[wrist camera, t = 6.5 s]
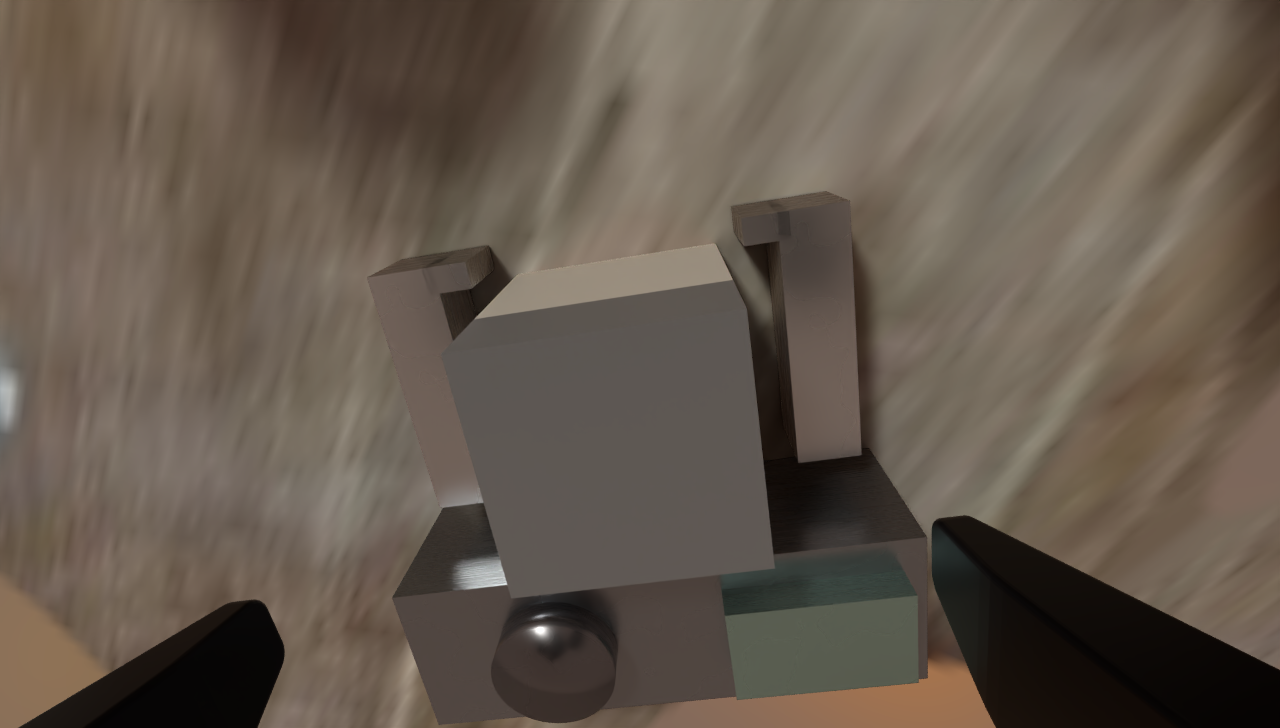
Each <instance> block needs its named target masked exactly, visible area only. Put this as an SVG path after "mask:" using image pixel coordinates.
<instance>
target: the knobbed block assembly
mask: <svg viewBox="0 0 1280 728" xmlns="http://www.w3.org/2000/svg"><path fill="white" fill-rule="evenodd" d="M731 211H732V220H733V229H734V233H735V234H736V236H737V237H738V238H739V240H740V241H741V243H742V244H743V246H749V245H756V244H762V243H766V245H767V256H768V267H769V277H770V288H771V299H772V310H773V321H774V331H775V342H776V353H777V364H778V375H779V386H780V396H781V407H782V418H783V427H784V429H785V432H786V434H787V437H788V439H789V441H790V444H791V446H792V449H793V451H794V454H795V456H796V457H794V458H786V459H778V460H770V461H763V463H764V472H765V482H766V491H767V500H768V509H769V519H770V528H771V537H772V546H773V556H774V565H775V569H766V570H757V571H749V572H740V573H731V574H722V575H713V576H705V577H696V578H687V579H678V580H669V581H661V582H652V583H643V584H634V585H625V586H617V587H608V588H599V589H590V590H581V591H573V592H564V593H555V594H546V595H537V596H529V597H520V598H511V596H510V592H509V589H508V585H507V582H506V579H505V575H504V572H503V568H502V565H501V561H500V558H499V554H498V551H497V547H496V544H495V540H494V537H493V534H492V530H491V527H490V523H489V520H488V516H487V513H486V509H485V506H484V502H483V499H482V495H481V492H480V489H479V485H478V482H477V478H476V475H475V471H474V468H473V464H472V461H471V457H470V454H469V450H468V447H467V444H466V440H465V437H464V433H463V430H462V426H461V423H460V419H459V416H458V412H457V409H456V405H455V402H454V399H453V395H452V392H451V388H450V385H449V381H448V378H447V374H446V371H445V367H444V364H443V360H442V357H441V353H442V352H443V351H444V350H445V349H446V348H447V347H448V346H449V345H450V344H451V343H452V342H453V341H454V340H455V339H456V338H457V337H458V336H459V334H460V333H461V332H462V331H463V330H464V329H465V328H466V327H467V326H468V325H469V324H470V323H471V322H472V321H473V320H474V319H475V318H476V317H477V316H476V312H475V308H474V304H473V301H472V297H471V293H470V289H472V288H473V287H474V286H476V285H477V284H478V283H479V282H480V281H481V280H483V279H484V278H485V277H486V276H487V275H488V274H490V273H491V272H492V271H493V270H494V266H493V262H492V258H491V254H490V249H489V246H483V247H477V248H471V249H464V250H458V251H452V252H446V253H439V254H433V255H427V256H421V257H415V258H408V259H402V260H400V261H398V262H396V263H394V264H392V265H390V266H388V267H386V268H384V269H382V270H380V271H379V272H377V273H375V274H373V275H371V276H369V277H367V279H368V283H369V286H370V289H371V292H372V295H373V298H374V302H375V305H376V308H377V311H378V314H379V317H380V320H381V324H382V327H383V330H384V333H385V336H386V339H387V342H388V346H389V349H390V352H391V355H392V358H393V361H394V365H395V368H396V371H397V374H398V377H399V380H400V383H401V387H402V390H403V393H404V396H405V399H406V402H407V405H408V409H409V412H410V415H411V418H412V421H413V424H414V428H415V431H416V434H417V437H418V440H419V443H420V446H421V450H422V453H423V456H424V459H425V462H426V465H427V468H428V472H429V475H430V478H431V481H432V484H433V487H434V491H435V494H436V497H437V500H438V503H439V506H440V508H443V509H442V511H441V513H440V515H439V516H438V518H437V520H436V522H435V523H434V525H433V527H432V529H431V530H430V532H429V534H428V536H427V537H426V539H425V541H424V543H423V544H422V546H421V548H420V550H419V551H418V553H417V555H416V557H415V559H414V560H413V562H412V564H411V566H410V567H409V569H408V571H407V573H406V574H405V576H404V578H403V580H402V581H401V583H400V585H399V587H398V588H397V590H396V592H395V594H394V595H393V597H392V599H393V602H394V604H395V607H396V610H397V613H398V615H399V618H400V621H401V623H402V626H403V629H404V632H405V634H406V637H407V640H408V642H409V645H410V648H411V650H412V653H413V656H414V659H415V661H416V664H417V667H418V669H419V672H420V675H421V678H422V680H423V683H424V686H425V688H426V691H427V694H428V696H429V699H430V702H431V705H432V707H433V710H434V713H435V715H436V718H437V721H438V724H439V725H442V724H453V723H463V722H474V721H484V720H495V719H505V718H516V717H529V718H531V719H534V720H538V721H542V722H549V723H567V722H574V721H578V720H581V719H584V718H587V717H589V716H591V715H593V714H594V713H596V712H597V711H599V710H600V709H610V708H621V707H631V706H642V705H652V704H663V703H673V702H684V701H694V700H704V699H715V698H725V697H735V696H737V700H741V699H752V698H763V697H774V696H784V695H795V694H805V693H816V692H825V691H837V690H847V689H858V688H868V687H879V686H890V685H900V684H910V683H918V682H919V679H924V678H928V675H927V674H928V654H927V537H926V535H925V533H924V532H923V530H922V529H921V527H920V526H919V524H918V523H917V521H916V520H915V518H914V517H913V515H912V513H911V512H910V510H909V509H908V507H907V506H906V504H905V503H904V501H903V500H902V498H901V496H900V495H899V493H898V492H897V490H896V489H895V487H894V486H893V484H892V483H891V481H890V479H889V478H888V476H887V475H886V473H885V472H884V470H883V469H882V467H881V466H880V464H879V463H878V461H877V459H876V458H875V456H874V455H873V453H872V452H871V450H870V449H869V448H865V449H861V432H860V410H859V388H858V366H857V344H856V322H855V300H854V278H853V255H852V233H851V211H850V200H847V199H844V198H842V197H839V196H837V195H834V194H832V193H829V192H827V191H825V192H819V193H813V194H806V195H800V196H794V197H788V198H782V199H775V200H769V201H763V202H757V203H750V204H744V205H738V206H732V207H731Z"/></svg>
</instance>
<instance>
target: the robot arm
mask: <svg viewBox="0 0 1280 728" xmlns="http://www.w3.org/2000/svg"><path fill="white" fill-rule="evenodd" d="M932 577H933V582H934V586H935V590H936V592H937V595H938V597H939V600H940V602H941V604H942V607H943V609H944V611H945V614H946V616H947V619H948V621H949V623H950V626H951V628H952V630H953V633H954V635H955V637H956V640H957V642H958V645H959V647H960V649H961V652H962V654H963V656H964V659H965V661H966V663H967V666H968V668H969V671H970V673H971V675H972V678H973V680H974V682H975V684H976V687H977V689H978V691H979V694H980V696H981V698H982V700H983V703H984V705H985V707H986V709H987V711H988V713H989V715H990V717H991V719H992V721H993V723H994V725H995V726H996V728H1280V670H1279V669H1277V668H1275V667H1273V666H1271V665H1269V664H1267V663H1265V662H1263V661H1261V660H1259V659H1257V658H1255V657H1253V656H1251V655H1249V654H1247V653H1245V652H1243V651H1241V650H1239V649H1237V648H1235V647H1233V646H1231V645H1229V644H1227V643H1225V642H1223V641H1221V640H1219V639H1216V638H1214V637H1212V636H1210V635H1208V634H1206V633H1204V632H1202V631H1200V630H1198V629H1196V628H1194V627H1192V626H1190V625H1188V624H1186V623H1184V622H1182V621H1180V620H1178V619H1176V618H1174V617H1172V616H1170V615H1168V614H1166V613H1164V612H1162V611H1160V610H1158V609H1156V608H1154V607H1152V606H1150V605H1148V604H1146V603H1144V602H1142V601H1140V600H1138V599H1136V598H1134V597H1132V596H1130V595H1128V594H1126V593H1124V592H1122V591H1120V590H1118V589H1116V588H1114V587H1112V586H1110V585H1108V584H1106V583H1104V582H1102V581H1100V580H1098V579H1096V578H1094V577H1092V576H1090V575H1088V574H1086V573H1084V572H1082V571H1080V570H1078V569H1076V568H1073V567H1071V566H1069V565H1067V564H1065V563H1063V562H1061V561H1059V560H1057V559H1055V558H1053V557H1051V556H1049V555H1047V554H1045V553H1043V552H1041V551H1039V550H1037V549H1035V548H1033V547H1031V546H1029V545H1027V544H1025V543H1023V542H1021V541H1019V540H1017V539H1015V538H1013V537H1011V536H1009V535H1007V534H1005V533H1003V532H1001V531H999V530H997V529H995V528H993V527H991V526H989V525H987V524H985V523H983V522H981V521H979V520H977V519H975V518H973V517H970V516H965V515H963V516H955V517H946V518H939V519H937V520H936V521H935V522H934V523H933V526H932ZM284 653H285V650H284V644H283V642H282V639H281V637H280V635H279V633H278V631H277V628H276V626H275V624H274V622H273V620H272V617H271V615H270V613H269V611H268V609H267V607H266V605H265V604H264V603H262V602H261V601H259V600H246V601H237V602H231V603H228V604H225V605H223V606H222V607H220V608H218V609H217V610H215V611H213V612H212V613H210V614H208V615H207V616H205V617H203V618H201V619H200V620H198V621H196V622H195V623H193V624H191V625H190V626H188V627H186V628H185V629H183V630H181V631H180V632H178V633H176V634H175V635H173V636H171V637H170V638H168V639H166V640H165V641H163V642H161V643H160V644H158V645H156V646H155V647H153V648H151V649H150V650H148V651H146V652H144V653H143V654H141V655H139V656H138V657H136V658H134V659H133V660H131V661H129V662H128V663H126V664H124V665H123V666H121V667H119V668H118V669H116V670H114V671H113V672H111V673H109V674H108V675H106V676H104V677H103V678H101V679H99V680H98V681H96V682H94V683H93V684H91V685H89V686H88V687H86V688H84V689H82V690H81V691H79V692H77V693H76V694H74V695H72V696H71V697H69V698H67V699H66V700H64V701H63V702H61V703H59V704H57V705H56V706H54V707H52V708H51V709H49V710H48V711H46V712H44V713H42V714H41V715H39V716H37V717H36V718H34V719H32V720H31V721H29V722H27V723H26V724H24V725H22V726H20V727H19V728H258V725H259V723H260V720H261V718H262V715H263V713H264V710H265V708H266V705H267V703H268V700H269V698H270V695H271V693H272V690H273V688H274V685H275V683H276V680H277V678H278V675H279V673H280V670H281V668H282V665H283V661H284Z"/></svg>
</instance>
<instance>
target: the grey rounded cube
mask: <svg viewBox="0 0 1280 728" xmlns="http://www.w3.org/2000/svg"><path fill="white" fill-rule="evenodd" d="M441 357H442V360H443V364H444V367H445V371H446V374H447V378H448V381H449V385H450V388H451V392H452V395H453V399H454V402H455V405H456V409H457V412H458V416H459V419H460V423H461V426H462V430H463V433H464V437H465V440H466V444H467V447H468V450H469V454H470V457H471V461H472V464H473V468H474V471H475V475H476V478H477V482H478V485H479V489H480V492H481V495H482V499H483V502H484V506H485V509H486V513H487V516H488V520H489V523H490V527H491V530H492V534H493V537H494V540H495V544H496V547H497V551H498V554H499V558H500V561H501V565H502V568H503V572H504V575H505V579H506V582H507V585H508V589H509V592H510V596H511V598H520V597H529V596H537V595H546V594H555V593H564V592H573V591H581V590H590V589H599V588H608V587H617V586H625V585H634V584H643V583H652V582H661V581H669V580H678V579H687V578H696V577H705V576H713V575H722V574H731V573H740V572H749V571H757V570H766V569H775V565H774V556H773V546H772V537H771V528H770V519H769V509H768V500H767V491H766V482H765V472H764V463H763V454H762V444H761V435H760V426H759V417H758V407H757V398H756V389H755V379H754V370H753V361H752V352H751V342H750V333H749V324H748V315H747V308H746V306H745V304H744V302H743V300H742V298H741V296H740V293H739V291H738V289H737V287H736V285H735V283H734V281H733V279H732V277H731V275H730V273H729V271H728V269H727V267H726V264H725V262H724V260H723V258H722V256H721V254H720V252H719V250H718V248H717V246H716V244H715V243H714V244H708V245H702V246H695V247H689V248H682V249H676V250H670V251H663V252H657V253H651V254H644V255H638V256H632V257H625V258H619V259H612V260H606V261H600V262H593V263H587V264H581V265H574V266H568V267H561V268H555V269H549V270H542V271H536V272H530V273H523V274H517V275H516V276H515V277H514V278H513V279H512V280H511V281H510V283H509V284H508V285H507V286H506V287H505V288H504V289H503V290H502V291H501V292H500V293H499V294H498V295H497V296H496V297H495V298H494V299H493V300H492V301H491V302H490V303H489V304H488V305H487V306H486V307H485V309H484V310H483V311H482V312H481V313H480V314H479V315H478V316H477V317H476V318H475V319H474V320H473V321H472V322H471V323H470V324H469V325H468V326H467V327H466V328H465V329H464V330H463V331H462V332H461V333H460V334H459V336H458V337H457V338H456V339H455V340H454V341H453V342H452V343H451V344H450V345H449V346H448V347H447V348H446V349H445V350H444V351H443V352H442V353H441Z"/></svg>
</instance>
